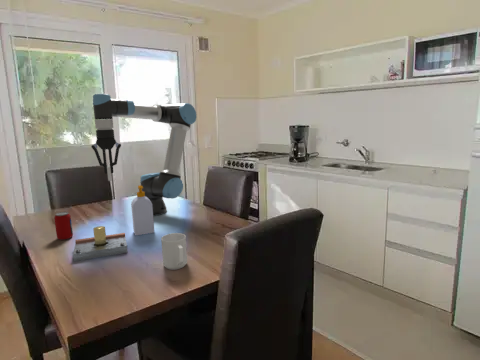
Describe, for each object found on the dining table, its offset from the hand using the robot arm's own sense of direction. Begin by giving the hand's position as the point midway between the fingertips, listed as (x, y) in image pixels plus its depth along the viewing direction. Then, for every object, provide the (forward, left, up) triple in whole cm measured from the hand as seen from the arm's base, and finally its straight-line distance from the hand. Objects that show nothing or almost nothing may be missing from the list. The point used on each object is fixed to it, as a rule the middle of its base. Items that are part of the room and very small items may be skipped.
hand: (109, 180), depth 154 cm
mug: (-20, +48, -27) cm, 58 cm away
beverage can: (+22, -5, -27) cm, 35 cm away
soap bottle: (-13, +3, -27) cm, 30 cm away
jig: (+6, +19, -26) cm, 33 cm away
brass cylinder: (+6, +19, -26) cm, 33 cm away
